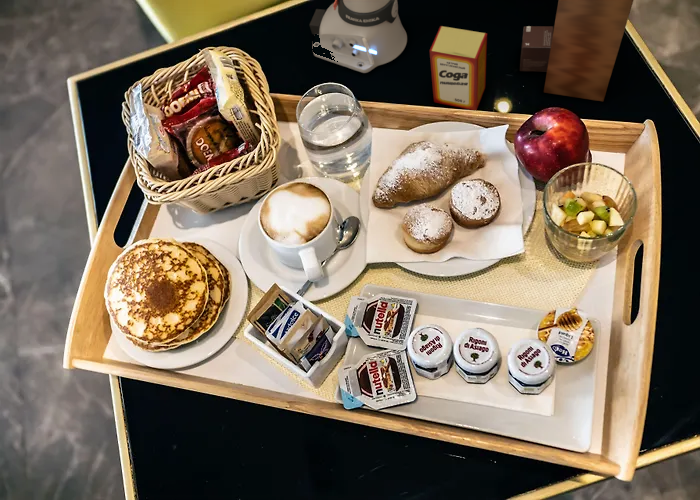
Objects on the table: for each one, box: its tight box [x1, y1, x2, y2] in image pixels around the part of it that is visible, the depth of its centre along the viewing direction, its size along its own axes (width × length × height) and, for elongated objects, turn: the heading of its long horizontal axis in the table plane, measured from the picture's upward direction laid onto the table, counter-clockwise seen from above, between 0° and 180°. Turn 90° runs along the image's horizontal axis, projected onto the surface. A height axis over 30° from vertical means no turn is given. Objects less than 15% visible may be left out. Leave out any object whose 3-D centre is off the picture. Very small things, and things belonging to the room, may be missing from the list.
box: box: [519, 25, 554, 73], centre depth 128 cm, size 6×6×7 cm
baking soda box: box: [429, 25, 488, 111], centre depth 124 cm, size 10×6×16 cm
